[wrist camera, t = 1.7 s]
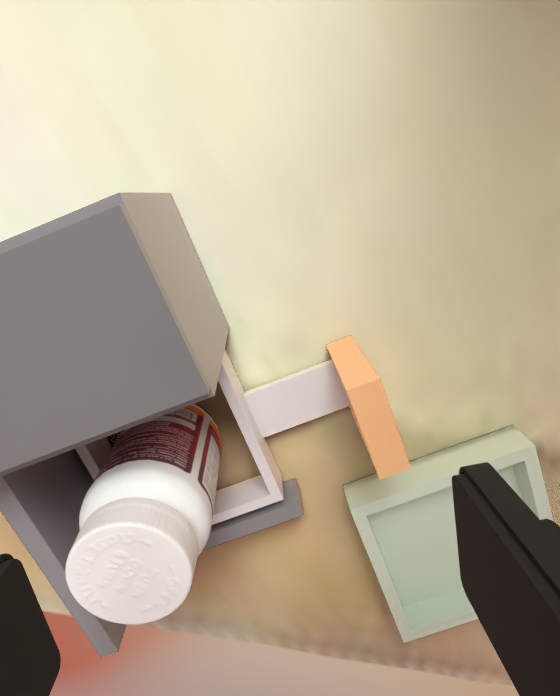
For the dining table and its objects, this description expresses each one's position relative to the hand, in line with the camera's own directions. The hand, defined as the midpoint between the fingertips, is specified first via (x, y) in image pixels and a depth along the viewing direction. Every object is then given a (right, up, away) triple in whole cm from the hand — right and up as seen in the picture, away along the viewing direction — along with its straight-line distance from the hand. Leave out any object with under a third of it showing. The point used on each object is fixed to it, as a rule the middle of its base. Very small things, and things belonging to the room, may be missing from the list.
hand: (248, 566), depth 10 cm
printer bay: (-7, +2, +19) cm, 20 cm away
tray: (+12, -7, +23) cm, 27 cm away
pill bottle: (-6, -1, +20) cm, 21 cm away
